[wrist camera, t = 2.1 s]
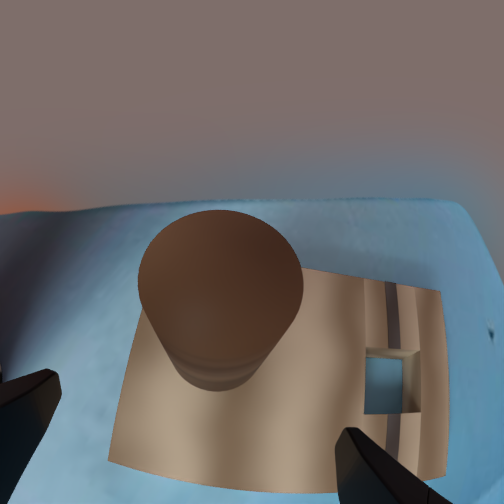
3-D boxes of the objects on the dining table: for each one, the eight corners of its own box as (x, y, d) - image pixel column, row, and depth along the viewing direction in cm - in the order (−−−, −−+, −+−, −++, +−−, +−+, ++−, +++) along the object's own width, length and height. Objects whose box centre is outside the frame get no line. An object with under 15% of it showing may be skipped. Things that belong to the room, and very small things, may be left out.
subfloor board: (423, 303, 24) (440, 290, 22) (425, 475, 16) (446, 475, 14) (166, 261, 23) (162, 242, 21) (119, 457, 15) (107, 460, 13)
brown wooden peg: (267, 372, 17) (335, 296, 8) (205, 413, 16) (196, 393, 6) (224, 315, 19) (240, 190, 10) (163, 351, 17) (112, 252, 8)
